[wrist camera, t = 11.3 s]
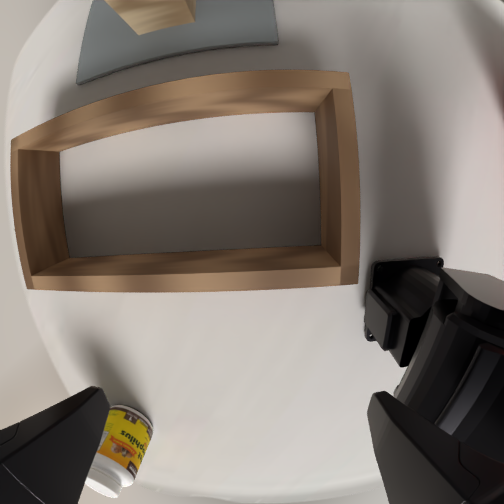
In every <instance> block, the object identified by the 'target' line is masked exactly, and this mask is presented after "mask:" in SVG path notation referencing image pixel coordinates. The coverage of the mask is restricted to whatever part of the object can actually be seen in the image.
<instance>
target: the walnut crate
mask: <svg viewBox="0 0 504 504" xmlns="http://www.w3.org/2000/svg"><path fill="white" fill-rule="evenodd" d="M279 112H315V122H316V133H317V146H318V162H319V180H320V207H321V245H314V246H293V247H272V248H251V249H230V250H210V251H190V252H171V253H151V254H132V255H114V256H95V257H77V258H69V252H68V247H67V241H66V234H65V227H64V219H63V210H62V200H61V187H60V165H59V152H60V151H63V150H66V149H69V148H72V147H75V146H78V145H81V144H85V143H88V142H91V141H95V140H98V139H102V138H106V137H109V136H113V135H117V134H121V133H125V132H129V131H134V130H138V129H143V128H148V127H153V126H158V125H163V124H169V123H175V122H181V121H188V120H194V119H202V118H210V117H219V116H229V115H241V114H255V113H279ZM11 194H12V207H13V217H14V225H15V232H16V239H17V245H18V251H19V256H20V261H21V266H22V270H23V275H24V279H25V283H26V287H27V289H35V290H56V291H84V292H217V291H248V290H271V289H291V288H308V287H324V286H338V285H351V284H358V277H359V258H360V177H359V158H358V144H357V132H356V122H355V113H354V105H353V97H352V90H351V83H350V77H349V73H347V72H335V71H320V70H259V71H243V72H232V73H222V74H214V75H206V76H199V77H193V78H187V79H181V80H176V81H171V82H166V83H161V84H157V85H152V86H148V87H144V88H140V89H136V90H133V91H129V92H125V93H122V94H119V95H115V96H112V97H109V98H106V99H103V100H100V101H97V102H94V103H91V104H88V105H86V106H83V107H80V108H78V109H75V110H73V111H70V112H68V113H65V114H63V115H60V116H58V117H56V118H54V119H51V120H49V121H47V122H45V123H43V124H41V125H38V126H36V127H34V128H32V129H30V130H28V131H27V132H25V133H23V134H21V135H19V136H17V137H15V138H14V139H12V140H11Z"/></svg>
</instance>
